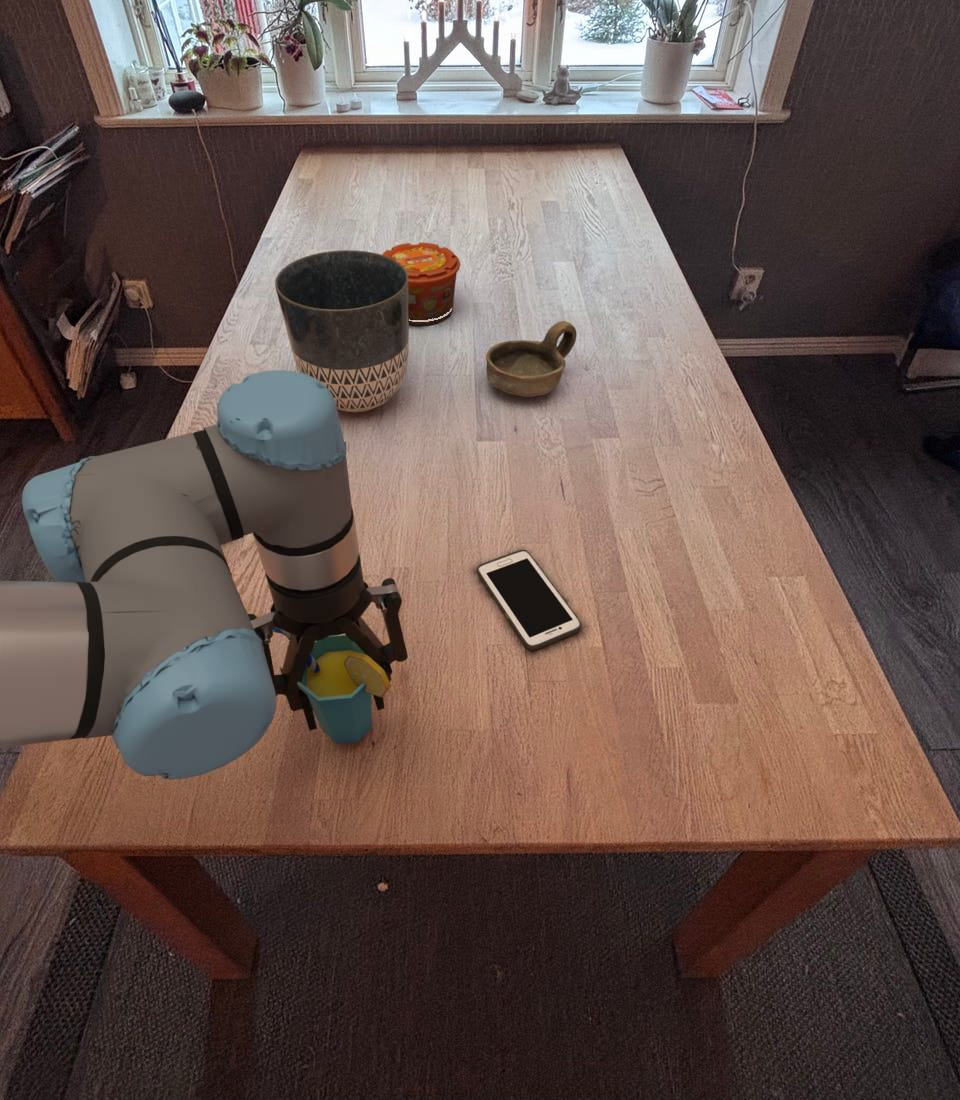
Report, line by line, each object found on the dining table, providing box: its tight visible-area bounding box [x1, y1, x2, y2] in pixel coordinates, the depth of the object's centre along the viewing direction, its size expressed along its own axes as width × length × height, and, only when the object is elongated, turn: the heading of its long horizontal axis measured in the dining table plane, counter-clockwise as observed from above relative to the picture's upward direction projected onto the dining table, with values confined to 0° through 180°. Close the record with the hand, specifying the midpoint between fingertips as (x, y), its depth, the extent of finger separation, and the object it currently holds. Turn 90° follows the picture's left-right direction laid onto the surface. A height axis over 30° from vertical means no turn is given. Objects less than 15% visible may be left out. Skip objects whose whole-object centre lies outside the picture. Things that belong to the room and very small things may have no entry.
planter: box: [274, 249, 410, 413], centre depth 108 cm, size 20×20×21 cm
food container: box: [381, 242, 461, 327], centre depth 134 cm, size 16×16×11 cm
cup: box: [273, 627, 392, 745], centre depth 66 cm, size 14×8×15 cm, turn 75°
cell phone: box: [476, 549, 582, 651], centre depth 86 cm, size 8×15×1 cm, turn 27°
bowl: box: [485, 320, 577, 397], centre depth 117 cm, size 14×18×10 cm
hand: (344, 708), depth 71 cm, fingers closed on cup, 6 cm apart
